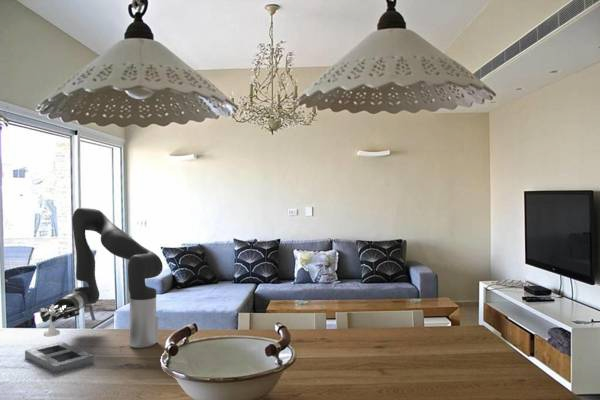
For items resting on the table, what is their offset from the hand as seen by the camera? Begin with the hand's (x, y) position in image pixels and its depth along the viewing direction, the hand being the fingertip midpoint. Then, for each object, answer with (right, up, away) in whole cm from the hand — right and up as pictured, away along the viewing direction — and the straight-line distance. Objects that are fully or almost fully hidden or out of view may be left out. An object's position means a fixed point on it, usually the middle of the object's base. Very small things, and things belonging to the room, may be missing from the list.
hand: (48, 318), depth 145 cm
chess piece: (-1, -6, +3) cm, 7 cm away
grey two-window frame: (+4, -14, 0) cm, 14 cm away
